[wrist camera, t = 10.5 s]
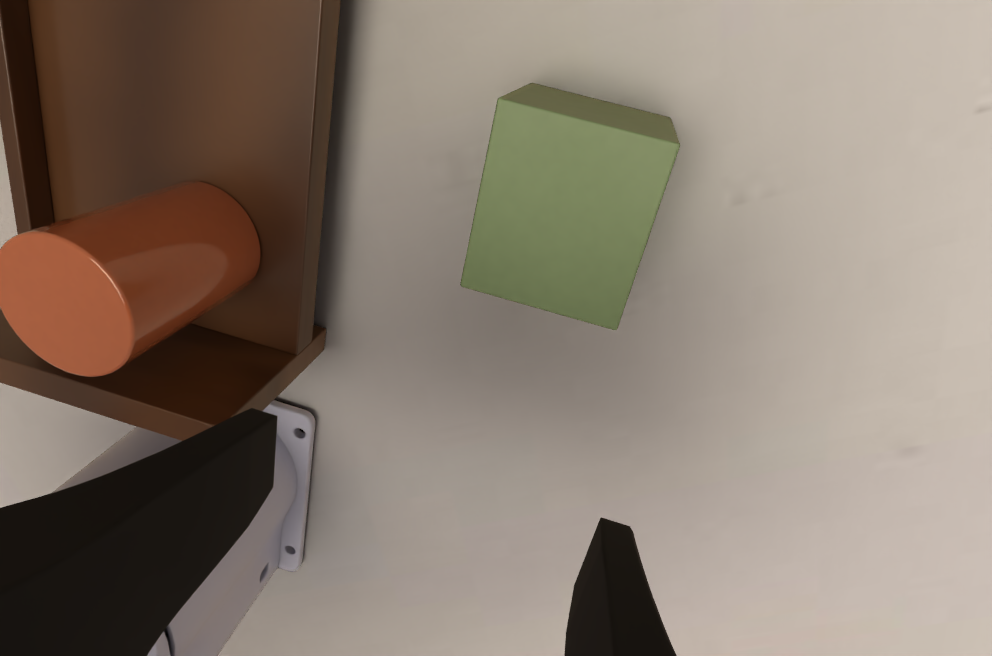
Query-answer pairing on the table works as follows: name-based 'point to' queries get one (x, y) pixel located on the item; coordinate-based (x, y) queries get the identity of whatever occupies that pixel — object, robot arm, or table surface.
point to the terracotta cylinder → (125, 275)
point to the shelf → (177, 176)
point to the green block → (567, 202)
